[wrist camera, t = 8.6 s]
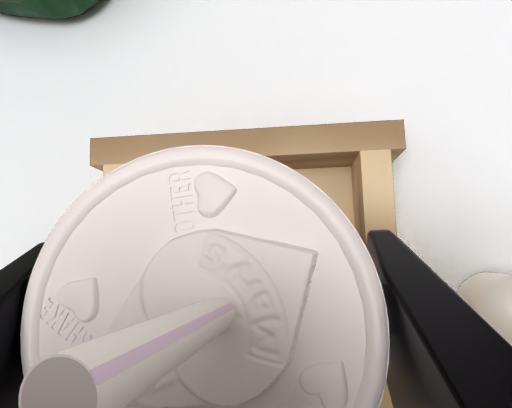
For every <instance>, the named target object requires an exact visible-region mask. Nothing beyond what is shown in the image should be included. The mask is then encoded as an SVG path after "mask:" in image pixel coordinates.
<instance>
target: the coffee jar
mask: <svg viewBox="0 0 512 408" xmlns="http://www.w3.org/2000/svg"><path fill="white" fill-rule="evenodd" d="M97 1H98V0H0V13H4V14H10V15H16V16H24V17H35V18H55V19H56V18H69V17H72V16H76V15H79V14H82V13H83V12H84V11H86V10H87V9H88V8H89V7H91V6H92V5H94V4H95V3H96V2H97Z"/></svg>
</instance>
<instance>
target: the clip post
mask: <svg viewBox="0 0 512 408" xmlns="http://www.w3.org/2000/svg"><path fill="white" fill-rule="evenodd" d="M457 294H458V295H459V296H460V297H461V298H462V299H463V300H464V301H465V302H466V303H468V304H469V305H470V306H471V307H472V308H473V309H474V310H475V311H476V312H477V313H478V314H479V315H480V316H481V317H482V318H483V319H484V320H485V321H486V322H487V323H489V324H490V325H491V326H492V327H493V328H494V329H495V330H496V331H497V332H498V333H499V334H500V335H501V336H502V337H503V338H504V339H505V340H506V341H507V342H509V343H510V344H511V345H512V274H503V273H490V272H483V273H478V274H475V275H472V276H470V277H469V278H468V279H466V280H465V281H464V282H463V283H462V285H461V286H460V288H459V290H458V292H457Z"/></svg>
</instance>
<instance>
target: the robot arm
mask: <svg viewBox="0 0 512 408" xmlns="http://www.w3.org/2000/svg"><path fill="white" fill-rule="evenodd" d="M44 243H45V242H43V243H40V244H38V245H36V246H35V247H33V248H32V249H31V250H29V251H28V252H26V253H25V254H23V255H22V256H20V257H19V258H17V259H16V260H14V261H13V262H12V263H10V264H9V265H7V266H6V267H4V268H3V269H1V270H0V408H19V405H18V402H19V391H20V386H21V384H22V381H23V379H24V375H23V369H22V360H21V341H20V334H21V318H22V311H23V305H24V299H25V295H26V290H27V286H28V282H29V279H30V276H31V273H32V270H33V267H34V265H35V262H36V260H37V258H38V256H39V253H40V251H41V249H42V247H43V245H44ZM366 248H367V250H368V252H369V254H370V256H371V258H372V260H373V263H374V265H375V268H376V270H377V273H378V276H379V279H380V282H381V285H382V289H383V293H384V297H385V301H386V307H387V314H388V321H389V339H390V348H389V365H388V372H387V378H386V382H387V386H388V389H389V393H390V397H391V401H392V404H393V408H512V345H511V344H510V343H509V342H507V341H506V340H505V339H504V338H503V337H502V336H501V335H500V334H499V333H498V332H497V331H496V330H495V329H494V328H493V327H492V326H491V325H490V324H489V323H487V322H486V321H485V320H484V319H483V318H482V317H481V316H480V315H479V314H478V313H477V312H476V311H475V310H474V309H473V308H472V307H471V306H470V305H469V304H468V303H466V302H465V301H464V300H463V299H462V298H461V297H460V296H459V295H458V294H457V293H456V292H455V291H454V290H453V289H452V288H451V287H450V286H449V285H448V284H447V283H445V282H444V281H443V280H442V279H441V278H440V277H439V276H438V275H437V274H436V273H435V272H434V271H433V270H432V269H431V268H430V267H429V266H428V265H427V264H425V263H424V262H423V261H422V260H421V259H420V258H419V257H418V256H417V255H416V254H415V253H414V252H413V251H412V250H411V249H410V248H409V247H408V246H407V245H406V244H404V243H403V242H402V241H401V240H400V239H399V238H398V237H397V236H396V235H395V234H394V233H393V232H392V231H390V230H388V229H380V230H370V231H369V232H368V234H367V244H366Z"/></svg>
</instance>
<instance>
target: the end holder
mask: <svg viewBox="0 0 512 408" xmlns="http://www.w3.org/2000/svg"><path fill="white" fill-rule="evenodd" d="M191 145H216V146H226V147H232V148H239V149H243V150H247V151H250V152H254V153H257V154H260V155H263V156H266V157H268V158H271V159H273V160H275V161H277V162H280V163H282V164H284V165H286V166H288V167H290V168H291V169H293V170H294V171H296V172H298V173H299V174H301V175H303V176H304V177H305V178H307V179H308V180H309V181H311V182H312V183H313V184H315V185H316V186H317V187H319V188H320V189H321V190H322V191H323V192H324V193H325V194H326V195H327V196H328V197H330V198H331V199H332V200H333V201H334V203H335V204H336V205H337V206H338V207H339V208H340V209H341V210H342V212H343V213H344V214H345V215H346V217H347V218H348V219H349V221H350V222H351V223H352V225H353V226H354V227H355V229H356V230H357V232H358V234H359V235H360V237H361V239H362V241H363V242H364V244H365V246H366V244H367V234H368V232H369V231H370V230H380V229H388V230H390V231H392V232H393V233H394V234H395V235H396V236H397V229H396V216H395V202H394V189H393V175H392V162H393V161H394V160H395V159H396V158H397V157H398V156H399V155H400V154H401V153H402V152H403V151H404V150H405V149H406V143H405V130H404V119H403V120H387V121H370V122H353V123H337V124H320V125H303V126H287V127H270V128H254V129H237V130H220V131H204V132H187V133H171V134H154V135H137V136H121V137H104V138H90V166H92V167H94V168H97V169H99V170H101V171H103V177H104V176H105V175H106V174H108V173H110V172H111V171H113V170H115V169H116V168H118V167H120V166H122V165H123V164H126V163H128V162H130V161H132V160H134V159H136V158H139V157H142V156H144V155H147V154H150V153H153V152H157V151H161V150H165V149H169V148H175V147H181V146H191ZM379 408H393V404H392V401H391V397H390V393H389V389H388V386H387V382H386V385H385V389H384V393H383V397H382V400H381V404H380V407H379Z"/></svg>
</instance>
